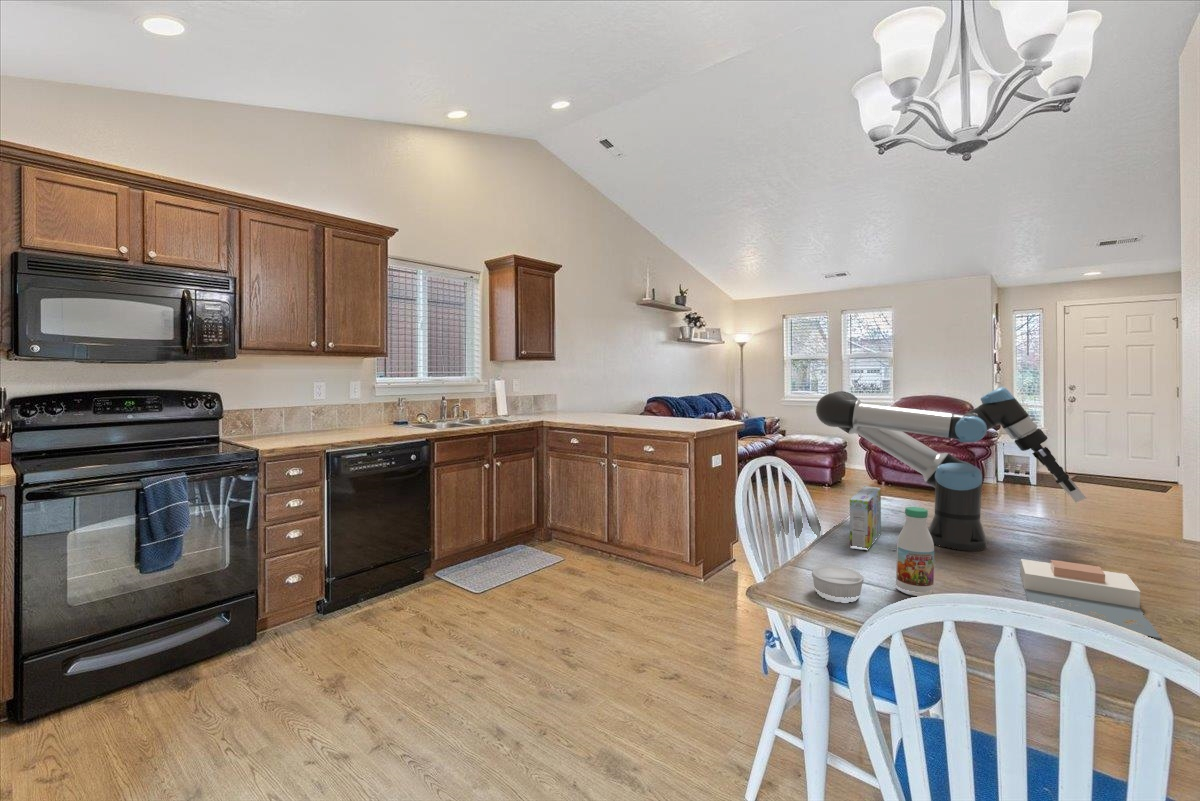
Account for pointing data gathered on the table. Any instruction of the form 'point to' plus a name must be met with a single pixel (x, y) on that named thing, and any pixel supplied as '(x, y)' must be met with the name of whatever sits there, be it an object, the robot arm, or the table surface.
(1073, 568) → the tile
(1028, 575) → the plate
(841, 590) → the ramekin
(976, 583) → the table surface
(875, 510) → the snack box
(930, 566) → the milk bottle
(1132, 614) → the mat
